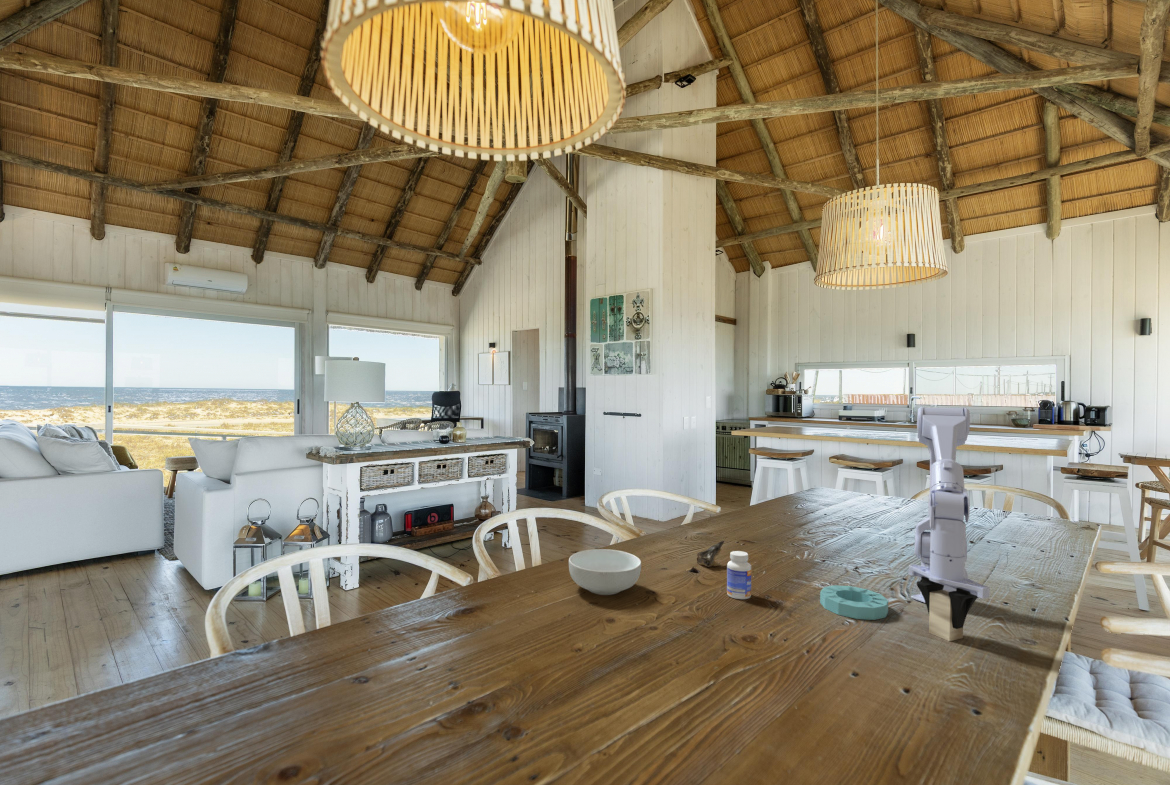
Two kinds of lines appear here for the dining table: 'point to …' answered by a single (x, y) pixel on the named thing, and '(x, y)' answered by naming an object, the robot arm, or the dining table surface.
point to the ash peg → (942, 616)
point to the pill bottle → (739, 576)
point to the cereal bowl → (604, 570)
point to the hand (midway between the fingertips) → (945, 622)
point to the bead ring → (854, 602)
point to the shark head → (710, 555)
